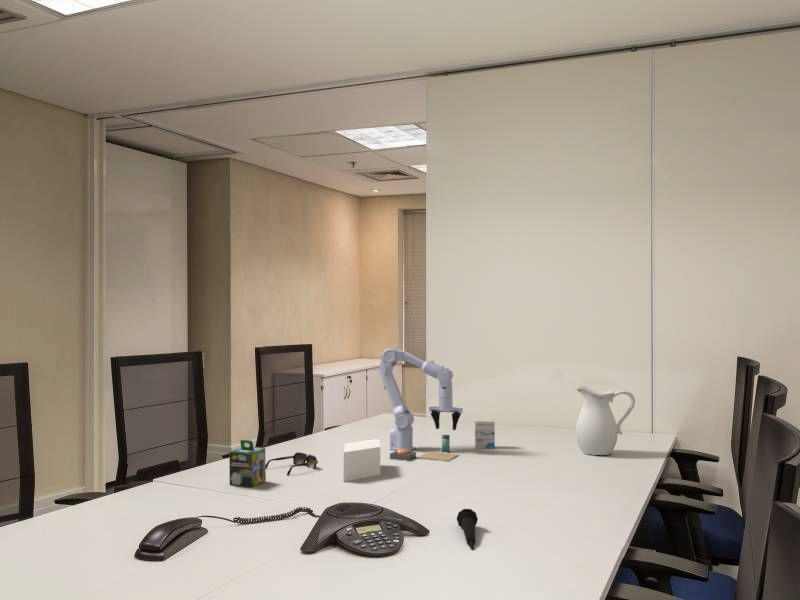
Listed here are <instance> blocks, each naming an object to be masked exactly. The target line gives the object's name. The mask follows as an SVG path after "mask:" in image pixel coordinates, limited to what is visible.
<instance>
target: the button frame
mask: <svg viewBox="0 0 800 600" xmlns="http://www.w3.org/2000/svg"><path fill="white" fill-rule="evenodd" d="M414 457H415V458H417V452H416V451H414V450H413V451H412V450H410V451H409V454H407V455H405V454H397V450H394V451H392V452H390V453H389V460H394V459H397V460H396V461H403V460H407V461H406V462H409V461H411V460H413V459H415V458H414ZM412 458H413V459H412ZM410 459H411V460H410Z"/></svg>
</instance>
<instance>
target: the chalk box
mask: <svg viewBox="0 0 800 600" xmlns="http://www.w3.org/2000/svg"><path fill="white" fill-rule="evenodd" d="M239 443H240V447H238V448H235V449H233V450H230V451H229V459H228V461H229V467H228V469H229V485H230V486H239V487H240V486H241V487H246V488H253V487H255V486H257V485H259V484H261V483H264V482H265V481H267V477H266V474H267V472H266V471H267V469H266V464H267V462H266V447H255V446H254V443H253V440H249V439H240V441H239ZM245 444H248V445H249V446H245Z"/></svg>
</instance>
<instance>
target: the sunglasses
mask: <svg viewBox="0 0 800 600" xmlns="http://www.w3.org/2000/svg"><path fill="white" fill-rule="evenodd" d="M289 459H293V460H292V462H293V465H291V466H290V467H289V469H288V470H287V474H286V476H290V475H291V472H292V470H293V468H296V467H303V466H304V467H305V466H307V468H309V469H310V468H311V469H312V470H315V469H316V468H317V464H318V463H319V460H318V459H317V457H316V456H315V455H312V454H310V453H309V454H308V453H305V452H298V451H297V452H295V453H294V454H293V455H288V456H283V457H277V458H271V459H268V461H267V462H266V470H267V468H268V467H269V465H270V462H273V461H282V460H284V461H285V460H289Z"/></svg>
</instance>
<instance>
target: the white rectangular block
mask: <svg viewBox="0 0 800 600" xmlns="http://www.w3.org/2000/svg"><path fill="white" fill-rule="evenodd" d="M376 475H377V476H380V475H381V441H380V438H374V439H368V440H360V441H354V442H346V443H345V442H344V449H343V479H342V481H343V482H348V481H354V480H360V478H361V479H365V478H371V476H372V477H376Z"/></svg>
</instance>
